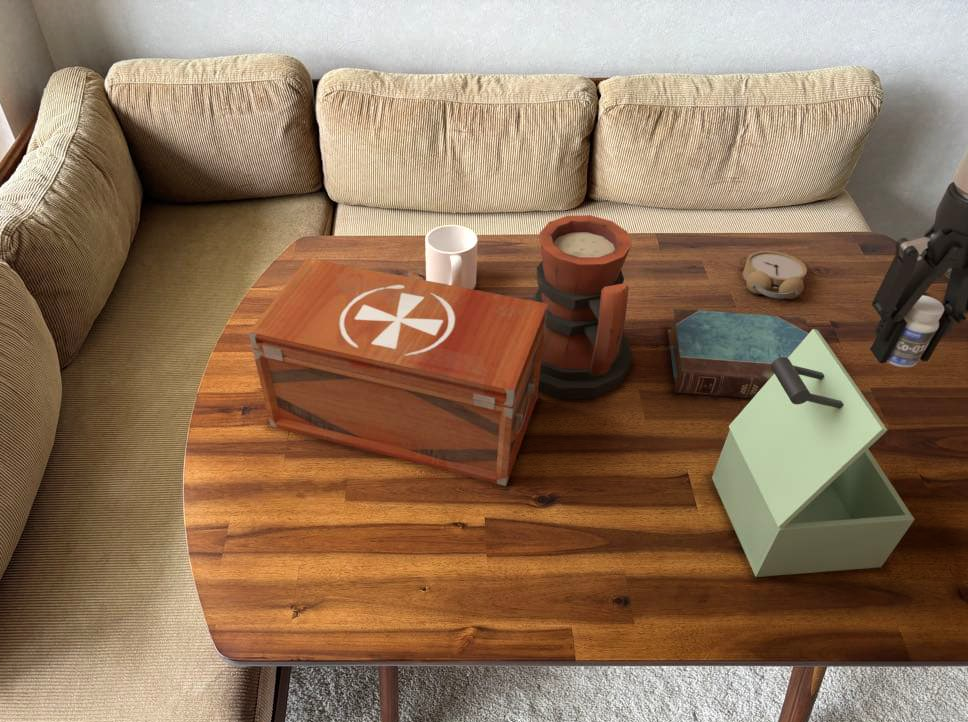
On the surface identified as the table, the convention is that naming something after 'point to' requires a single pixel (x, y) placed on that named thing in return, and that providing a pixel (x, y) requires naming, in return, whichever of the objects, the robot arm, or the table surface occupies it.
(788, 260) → the alarm clock
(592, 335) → the tankard
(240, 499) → the table surface
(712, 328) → the book
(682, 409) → the table surface
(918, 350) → the pill bottle
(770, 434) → the lid
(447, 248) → the mug
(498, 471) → the wooden box
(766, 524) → the chest
